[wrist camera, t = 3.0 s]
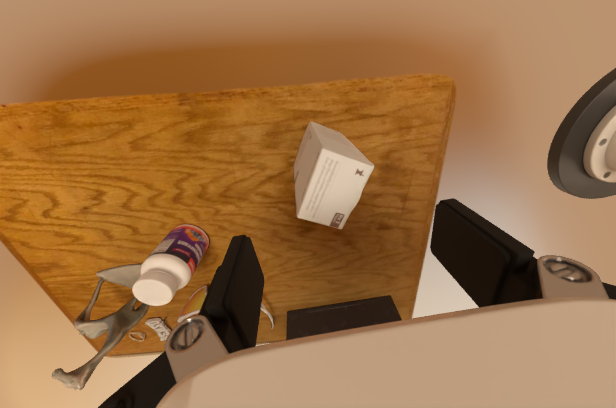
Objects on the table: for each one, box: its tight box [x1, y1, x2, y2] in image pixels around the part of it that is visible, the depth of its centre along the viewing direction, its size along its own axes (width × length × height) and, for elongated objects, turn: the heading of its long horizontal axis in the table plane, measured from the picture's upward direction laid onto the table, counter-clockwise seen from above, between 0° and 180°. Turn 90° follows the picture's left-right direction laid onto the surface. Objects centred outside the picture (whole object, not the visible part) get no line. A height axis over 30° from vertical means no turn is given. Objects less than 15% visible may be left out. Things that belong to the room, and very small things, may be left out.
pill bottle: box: [132, 224, 209, 306], centre depth 27 cm, size 5×5×10 cm
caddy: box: [286, 296, 402, 340], centre depth 38 cm, size 19×7×8 cm, turn 99°
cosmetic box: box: [294, 121, 374, 229], centre depth 22 cm, size 6×4×12 cm
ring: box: [129, 332, 146, 341], centre depth 41 cm, size 3×1×3 cm
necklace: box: [145, 317, 171, 341], centre depth 40 cm, size 7×1×5 cm
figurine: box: [52, 263, 150, 390], centre depth 28 cm, size 11×6×15 cm, turn 94°
